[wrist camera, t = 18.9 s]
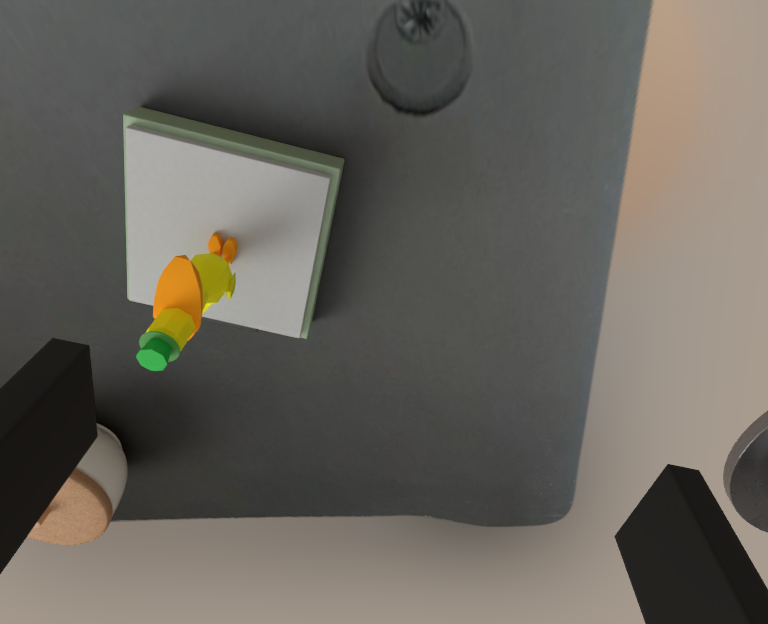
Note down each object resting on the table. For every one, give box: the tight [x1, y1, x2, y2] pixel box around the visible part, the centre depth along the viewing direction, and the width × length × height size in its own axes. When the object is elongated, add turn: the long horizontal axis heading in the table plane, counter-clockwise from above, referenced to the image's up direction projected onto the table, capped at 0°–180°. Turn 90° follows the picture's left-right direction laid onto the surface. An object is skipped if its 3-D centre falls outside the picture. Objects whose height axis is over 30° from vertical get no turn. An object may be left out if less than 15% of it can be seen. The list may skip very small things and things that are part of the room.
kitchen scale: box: [123, 107, 345, 339], centre depth 38 cm, size 14×15×3 cm
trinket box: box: [28, 423, 128, 545], centre depth 49 cm, size 11×11×9 cm
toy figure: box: [136, 233, 238, 371], centre depth 32 cm, size 7×4×12 cm, turn 165°
